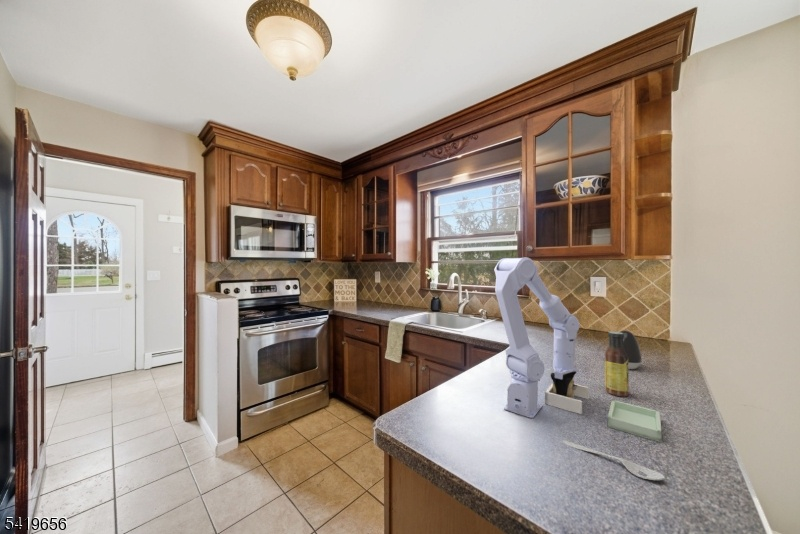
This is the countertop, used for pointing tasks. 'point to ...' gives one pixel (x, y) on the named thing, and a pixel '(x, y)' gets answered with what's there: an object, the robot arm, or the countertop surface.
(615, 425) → the tray
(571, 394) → the upright wooden block
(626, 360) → the sauce bottle
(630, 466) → the spoon
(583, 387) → the bay
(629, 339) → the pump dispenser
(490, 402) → the countertop surface
